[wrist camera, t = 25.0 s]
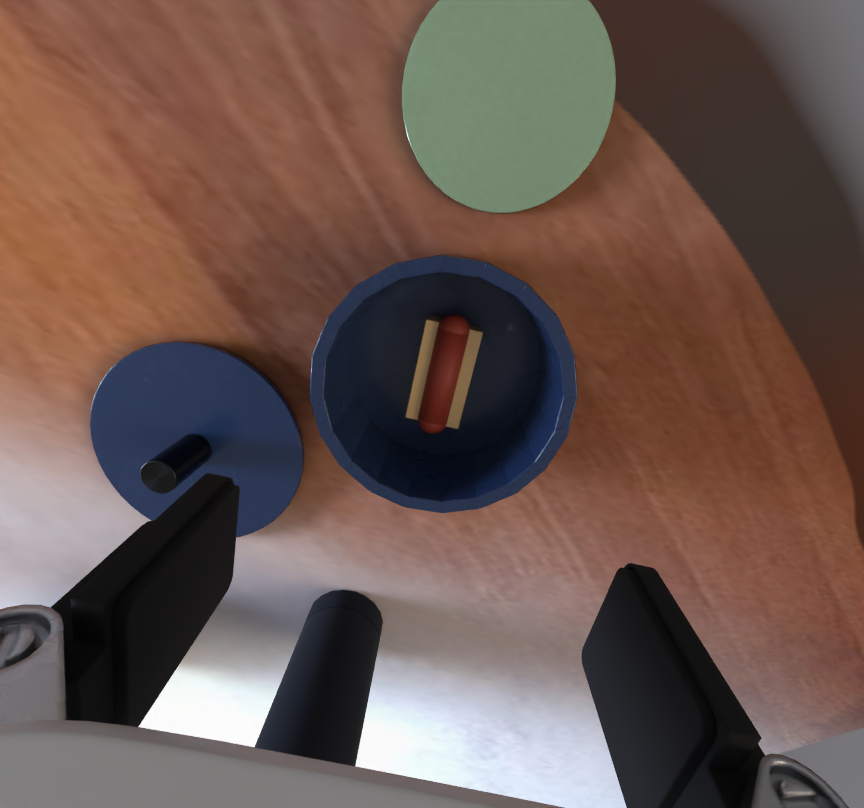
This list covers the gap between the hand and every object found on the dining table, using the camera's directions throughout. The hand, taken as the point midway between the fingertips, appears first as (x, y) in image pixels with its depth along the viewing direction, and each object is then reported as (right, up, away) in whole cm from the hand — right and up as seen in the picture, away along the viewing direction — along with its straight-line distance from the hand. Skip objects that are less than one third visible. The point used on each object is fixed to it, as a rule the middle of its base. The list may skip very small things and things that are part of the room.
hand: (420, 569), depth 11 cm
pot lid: (-17, +1, +23) cm, 28 cm away
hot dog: (+1, +7, +20) cm, 21 cm away
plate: (+5, +22, +15) cm, 27 cm away
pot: (+1, +7, +20) cm, 22 cm away
